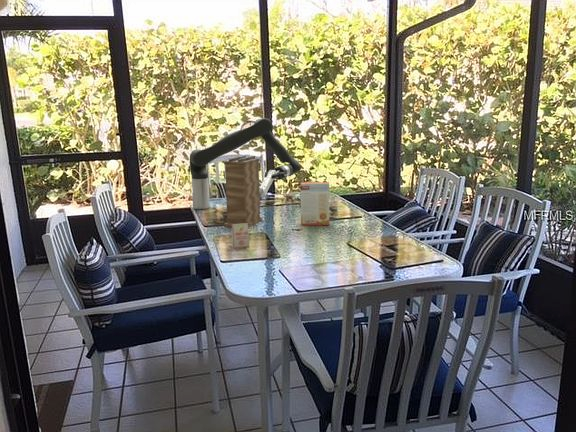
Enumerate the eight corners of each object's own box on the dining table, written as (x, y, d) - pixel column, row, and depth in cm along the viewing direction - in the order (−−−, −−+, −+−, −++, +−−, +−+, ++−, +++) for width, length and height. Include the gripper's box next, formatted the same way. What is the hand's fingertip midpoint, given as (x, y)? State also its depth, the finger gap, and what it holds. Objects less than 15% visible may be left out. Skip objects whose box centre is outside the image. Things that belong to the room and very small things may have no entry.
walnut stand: (246, 228, 240) (244, 159, 233) (224, 226, 245) (222, 158, 237) (262, 220, 256) (261, 155, 249) (241, 218, 261) (240, 155, 253)
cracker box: (329, 222, 250) (329, 181, 245) (329, 225, 244) (329, 183, 239) (301, 222, 252) (301, 181, 247) (300, 225, 246) (300, 183, 241)
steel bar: (262, 200, 264) (260, 192, 261) (256, 199, 265) (254, 192, 262) (276, 174, 278) (274, 167, 275) (271, 174, 280) (268, 166, 276)
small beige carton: (231, 246, 212) (231, 223, 210) (247, 244, 214) (246, 222, 212) (233, 248, 209) (232, 225, 207) (249, 247, 211) (248, 224, 208)
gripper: (270, 165, 290) (257, 169, 275) (292, 166, 285) (280, 170, 269) (270, 178, 292) (257, 182, 277) (292, 179, 287) (280, 184, 271)
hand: (268, 176), depth 273 cm, fingers closed on steel bar, 3 cm apart
